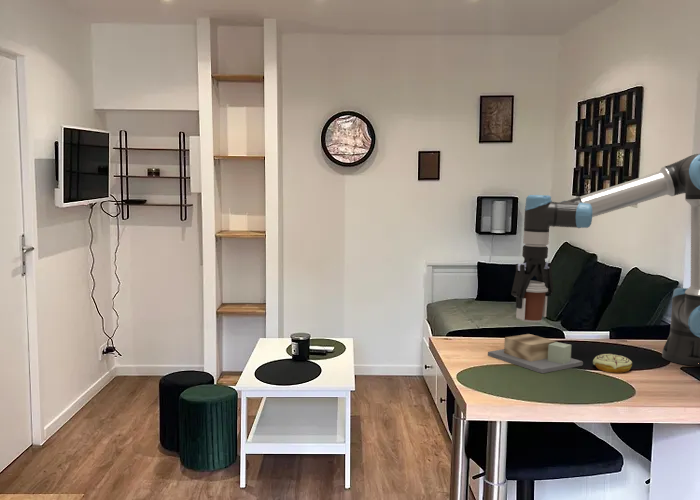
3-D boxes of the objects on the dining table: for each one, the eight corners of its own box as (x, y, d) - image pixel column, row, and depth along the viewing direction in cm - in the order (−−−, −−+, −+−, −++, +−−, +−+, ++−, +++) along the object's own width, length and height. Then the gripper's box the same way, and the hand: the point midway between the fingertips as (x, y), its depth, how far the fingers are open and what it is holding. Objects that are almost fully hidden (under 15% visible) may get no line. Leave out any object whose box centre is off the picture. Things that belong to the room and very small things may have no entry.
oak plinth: (555, 357, 204) (556, 341, 203) (530, 361, 198) (531, 345, 197) (528, 348, 213) (529, 333, 212) (503, 352, 207) (504, 337, 207)
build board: (582, 365, 200) (582, 361, 199) (542, 373, 190) (542, 369, 190) (527, 348, 218) (527, 345, 218) (487, 355, 208) (487, 351, 208)
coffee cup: (535, 324, 198) (538, 285, 197) (509, 319, 205) (512, 281, 203) (551, 321, 204) (554, 283, 203) (526, 316, 211) (528, 279, 209)
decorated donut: (586, 368, 198) (586, 355, 197) (605, 362, 204) (606, 350, 204) (618, 376, 190) (619, 363, 189) (637, 370, 196) (638, 358, 196)
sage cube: (570, 360, 200) (571, 344, 199) (563, 364, 196) (564, 347, 195) (554, 357, 203) (555, 341, 202) (547, 360, 199) (548, 344, 199)
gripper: (549, 243, 211) (545, 312, 213) (501, 245, 199) (497, 318, 202) (568, 245, 204) (564, 316, 207) (519, 247, 193) (515, 322, 195)
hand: (531, 317), depth 204 cm, fingers closed on coffee cup, 9 cm apart
